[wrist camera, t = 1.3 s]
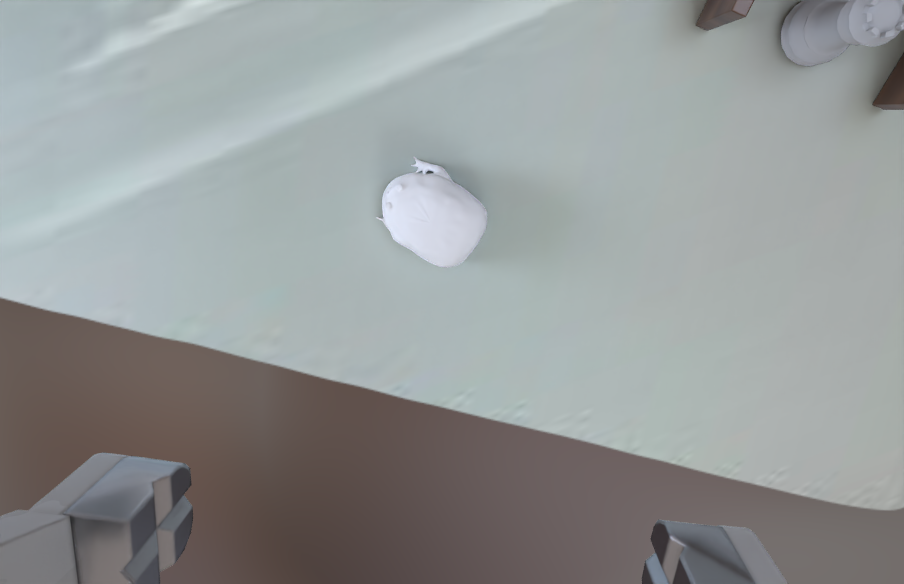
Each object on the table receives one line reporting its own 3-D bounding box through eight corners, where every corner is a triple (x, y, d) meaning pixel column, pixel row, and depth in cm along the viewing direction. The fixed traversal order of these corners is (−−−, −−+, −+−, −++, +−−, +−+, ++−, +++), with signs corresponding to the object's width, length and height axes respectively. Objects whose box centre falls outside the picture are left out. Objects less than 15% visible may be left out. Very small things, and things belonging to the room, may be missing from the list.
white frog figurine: (368, 220, 45) (358, 230, 41) (413, 146, 43) (407, 150, 39) (453, 275, 46) (450, 289, 42) (500, 205, 44) (502, 213, 40)
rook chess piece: (850, -5, 38) (942, -34, 30) (837, 66, 39) (922, 55, 32) (782, -4, 38) (856, -32, 31) (772, 67, 40) (840, 56, 32)
